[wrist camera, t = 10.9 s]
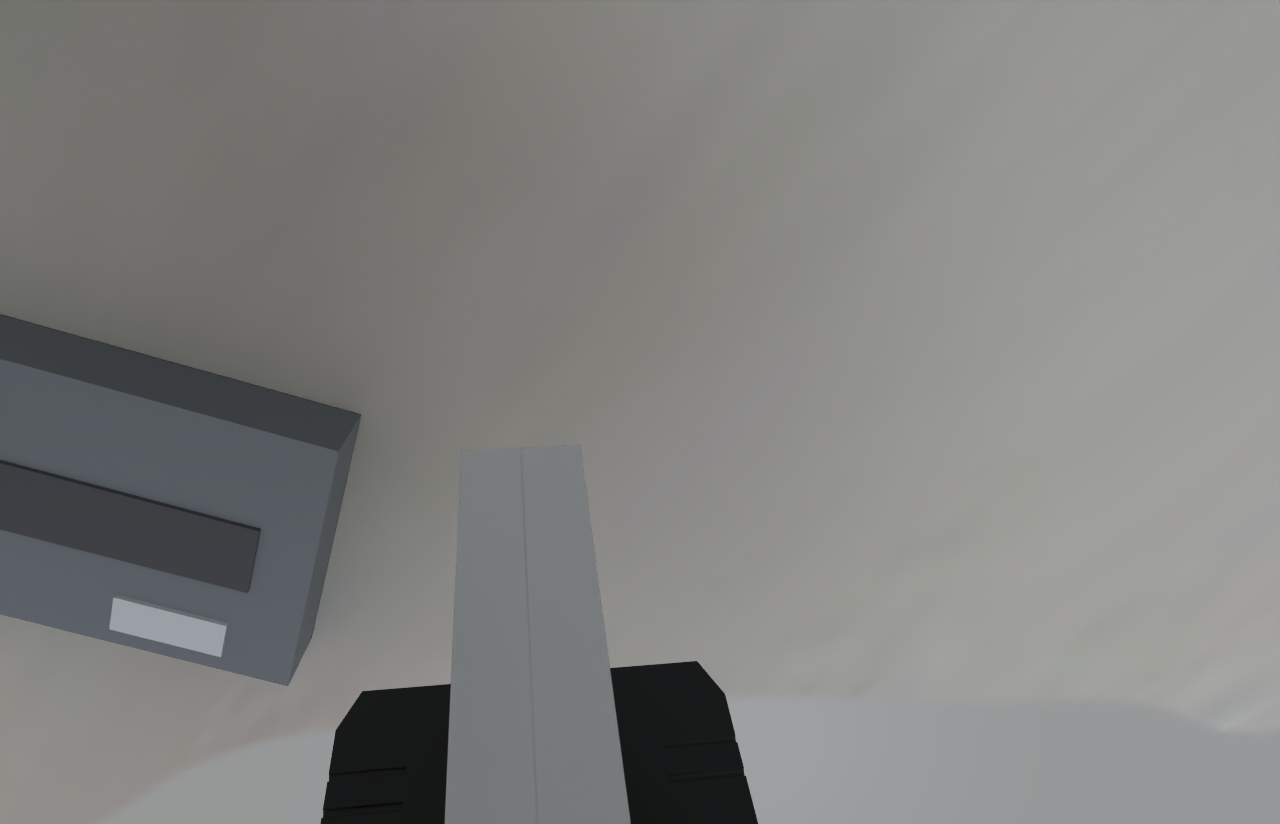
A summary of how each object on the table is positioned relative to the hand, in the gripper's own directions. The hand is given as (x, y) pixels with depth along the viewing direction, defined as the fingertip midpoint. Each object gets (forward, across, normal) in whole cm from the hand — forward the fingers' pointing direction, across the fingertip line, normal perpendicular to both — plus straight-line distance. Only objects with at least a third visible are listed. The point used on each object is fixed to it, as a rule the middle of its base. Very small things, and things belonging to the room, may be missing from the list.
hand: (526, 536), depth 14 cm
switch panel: (+24, -16, -13) cm, 32 cm away
